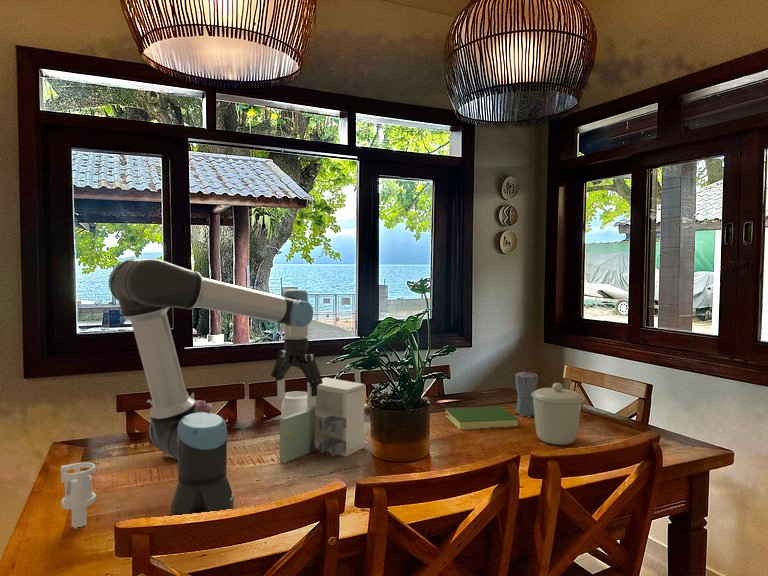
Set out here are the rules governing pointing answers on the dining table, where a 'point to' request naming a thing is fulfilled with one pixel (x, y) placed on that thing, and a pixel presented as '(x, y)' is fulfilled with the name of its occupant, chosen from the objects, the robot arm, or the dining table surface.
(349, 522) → the dining table surface
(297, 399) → the jar
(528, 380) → the moka pot
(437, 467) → the dining table surface
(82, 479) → the strainer
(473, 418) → the hardcover book
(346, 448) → the cabinet
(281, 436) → the door
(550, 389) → the canister
